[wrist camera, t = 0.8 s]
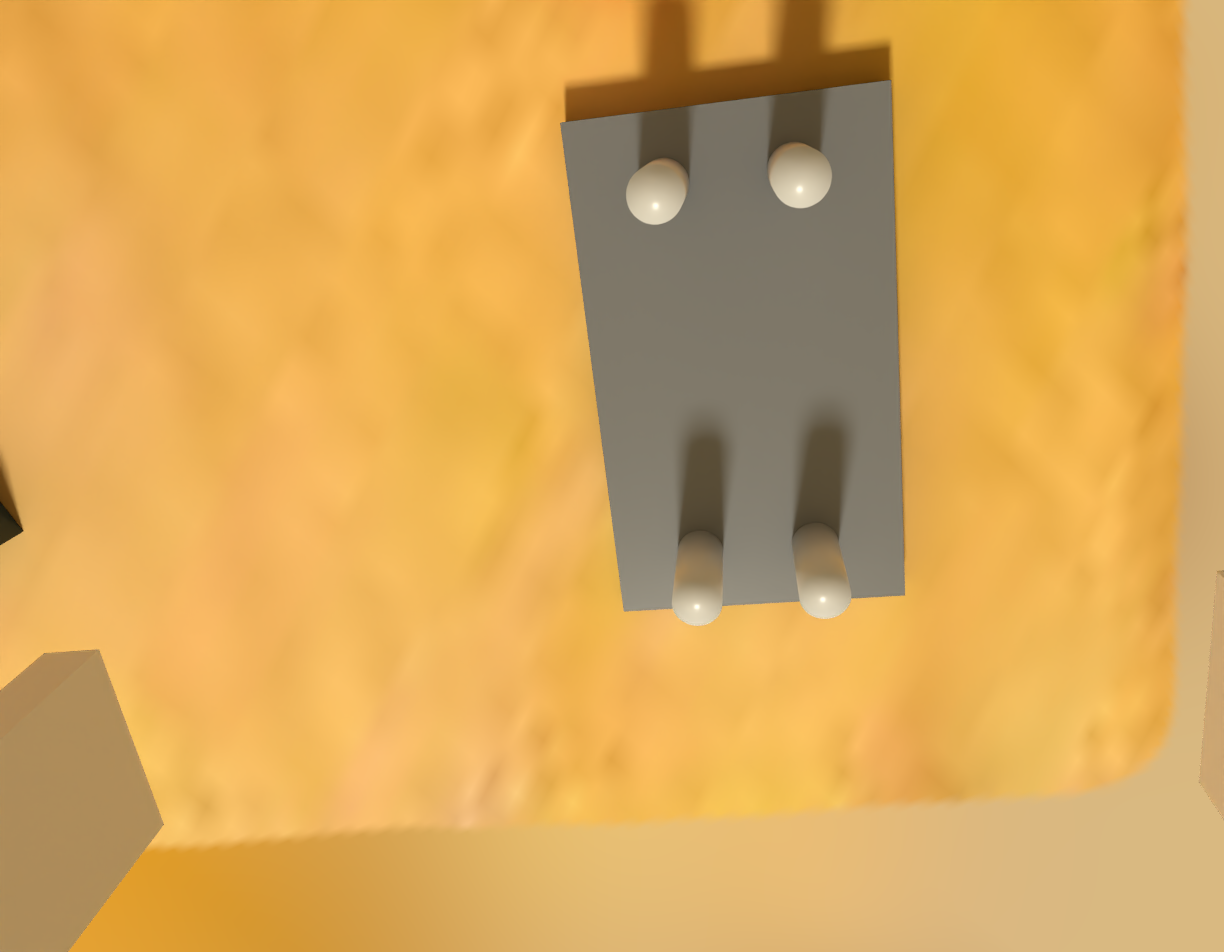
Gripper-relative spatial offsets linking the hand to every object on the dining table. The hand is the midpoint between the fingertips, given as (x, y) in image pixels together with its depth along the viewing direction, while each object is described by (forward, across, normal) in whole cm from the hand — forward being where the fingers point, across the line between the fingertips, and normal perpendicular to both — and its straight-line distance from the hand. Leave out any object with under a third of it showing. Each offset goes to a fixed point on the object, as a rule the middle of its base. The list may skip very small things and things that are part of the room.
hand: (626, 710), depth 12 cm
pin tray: (+23, +1, -2) cm, 24 cm away
